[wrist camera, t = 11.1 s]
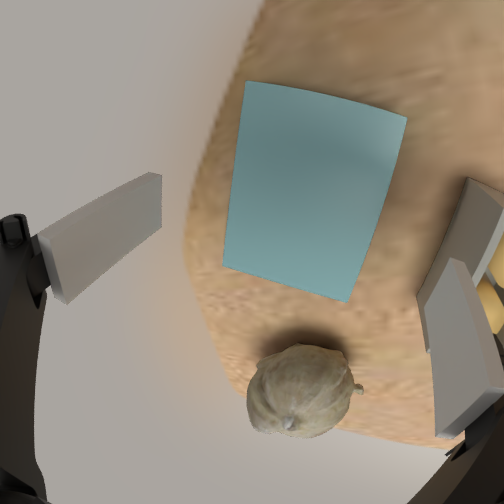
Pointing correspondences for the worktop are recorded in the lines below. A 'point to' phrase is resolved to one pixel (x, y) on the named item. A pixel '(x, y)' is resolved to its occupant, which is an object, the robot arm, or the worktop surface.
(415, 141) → the worktop surface
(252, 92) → the lid
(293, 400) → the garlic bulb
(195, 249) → the worktop surface
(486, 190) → the box
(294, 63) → the worktop surface
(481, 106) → the worktop surface
